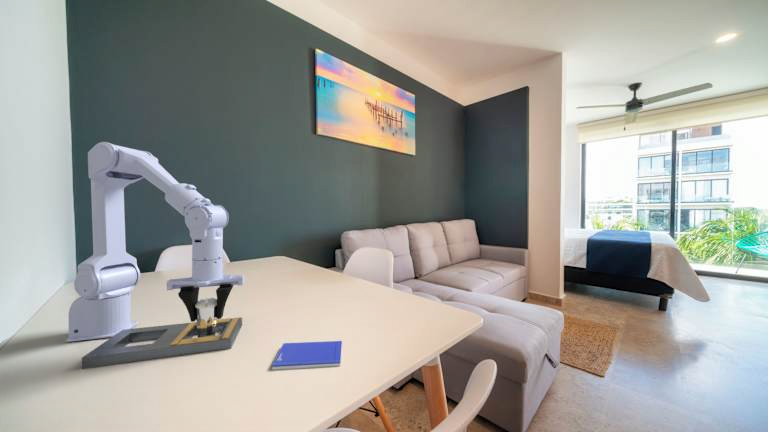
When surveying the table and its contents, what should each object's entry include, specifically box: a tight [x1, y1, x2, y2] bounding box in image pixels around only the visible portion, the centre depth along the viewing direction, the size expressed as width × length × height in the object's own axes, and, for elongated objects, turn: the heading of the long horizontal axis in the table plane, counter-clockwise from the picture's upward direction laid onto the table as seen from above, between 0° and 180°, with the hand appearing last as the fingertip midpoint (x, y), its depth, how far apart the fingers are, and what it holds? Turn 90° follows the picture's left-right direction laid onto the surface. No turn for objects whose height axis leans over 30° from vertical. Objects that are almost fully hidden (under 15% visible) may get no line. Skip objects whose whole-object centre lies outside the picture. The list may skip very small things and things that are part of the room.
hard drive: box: [271, 340, 343, 371], centre depth 53 cm, size 2×8×12 cm
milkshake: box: [195, 297, 217, 338], centre depth 59 cm, size 4×5×10 cm
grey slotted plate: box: [81, 317, 243, 370], centre depth 57 cm, size 24×12×2 cm, turn 109°
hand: (207, 318), depth 59 cm, fingers closed on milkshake, 4 cm apart
